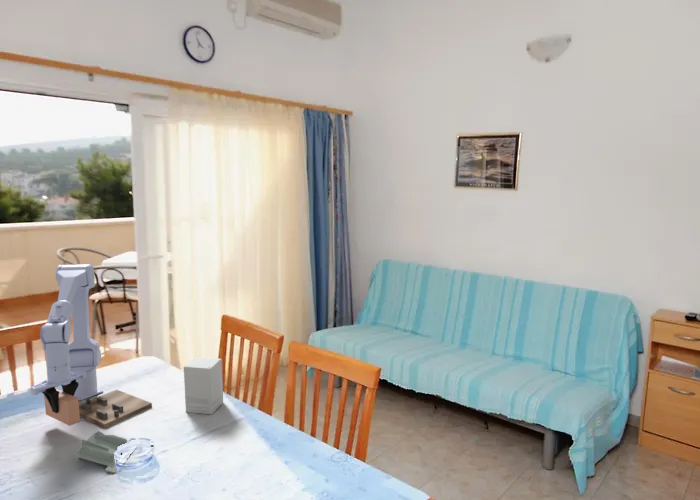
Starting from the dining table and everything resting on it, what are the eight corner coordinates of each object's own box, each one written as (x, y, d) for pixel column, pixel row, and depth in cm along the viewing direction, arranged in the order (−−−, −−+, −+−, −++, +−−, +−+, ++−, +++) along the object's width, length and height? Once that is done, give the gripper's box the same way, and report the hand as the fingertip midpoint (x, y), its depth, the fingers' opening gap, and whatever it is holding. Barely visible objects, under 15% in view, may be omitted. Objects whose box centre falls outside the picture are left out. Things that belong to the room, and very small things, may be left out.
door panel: (45, 414, 148) (43, 391, 147) (56, 410, 151) (54, 387, 149) (69, 425, 142) (67, 402, 141) (80, 421, 144) (78, 398, 143)
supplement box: (224, 402, 165) (223, 358, 163) (212, 415, 157) (210, 368, 154) (198, 399, 167) (196, 355, 165) (184, 412, 158) (182, 366, 156)
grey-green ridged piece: (66, 452, 126) (96, 421, 140) (61, 472, 127) (92, 440, 141) (122, 468, 126) (147, 436, 141) (117, 488, 127) (142, 455, 142)
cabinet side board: (69, 411, 157) (68, 403, 157) (116, 392, 171) (116, 385, 170) (104, 428, 148) (104, 419, 148) (151, 406, 161) (151, 398, 161)
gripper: (39, 376, 135) (43, 423, 138) (91, 359, 148) (94, 403, 150) (25, 370, 139) (29, 416, 141) (77, 354, 151) (80, 397, 153)
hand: (61, 409), depth 146 cm, fingers closed on door panel, 3 cm apart
